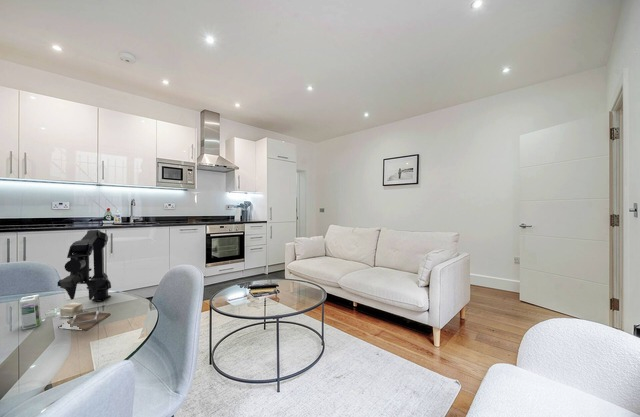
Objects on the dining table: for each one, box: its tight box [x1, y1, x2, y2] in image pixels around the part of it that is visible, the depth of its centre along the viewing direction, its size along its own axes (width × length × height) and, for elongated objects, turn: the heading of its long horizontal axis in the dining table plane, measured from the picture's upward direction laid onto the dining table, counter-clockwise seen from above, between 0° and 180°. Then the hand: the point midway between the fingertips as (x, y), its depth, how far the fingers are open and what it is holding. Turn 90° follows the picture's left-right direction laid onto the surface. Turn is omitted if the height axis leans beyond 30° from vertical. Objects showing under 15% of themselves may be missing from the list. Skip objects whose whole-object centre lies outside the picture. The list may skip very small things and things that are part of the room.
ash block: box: [59, 302, 84, 317], centre depth 137 cm, size 6×6×5 cm
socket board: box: [57, 309, 111, 332], centre depth 132 cm, size 14×14×2 cm
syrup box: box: [19, 293, 42, 331], centre depth 125 cm, size 6×6×14 cm
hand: (81, 299), depth 126 cm, fingers open, 9 cm apart
